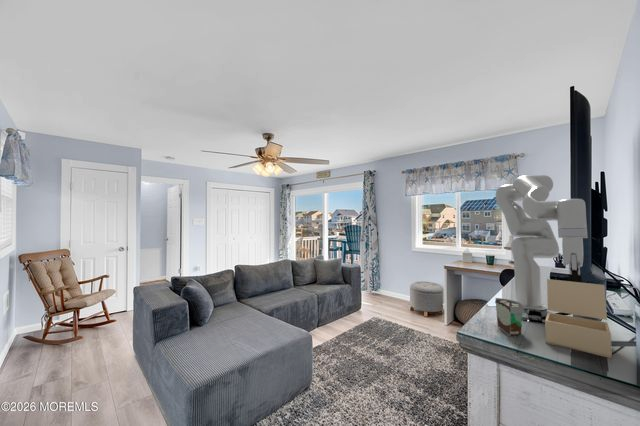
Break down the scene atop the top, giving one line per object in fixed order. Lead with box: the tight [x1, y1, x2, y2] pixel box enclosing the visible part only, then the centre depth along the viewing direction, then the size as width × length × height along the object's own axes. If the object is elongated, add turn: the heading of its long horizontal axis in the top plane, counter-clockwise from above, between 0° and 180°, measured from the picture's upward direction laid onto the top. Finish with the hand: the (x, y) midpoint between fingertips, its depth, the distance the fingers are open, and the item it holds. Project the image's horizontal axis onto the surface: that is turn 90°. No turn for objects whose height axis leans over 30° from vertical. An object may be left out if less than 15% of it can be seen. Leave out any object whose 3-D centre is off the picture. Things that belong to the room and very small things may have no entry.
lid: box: [546, 278, 608, 321], centre depth 89 cm, size 11×14×1 cm
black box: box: [522, 309, 545, 325], centre depth 105 cm, size 12×7×5 cm, turn 60°
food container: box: [494, 297, 526, 337], centre depth 93 cm, size 12×6×10 cm, turn 168°
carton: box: [544, 312, 613, 359], centre depth 83 cm, size 11×14×7 cm
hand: (575, 286), depth 94 cm, fingers closed
